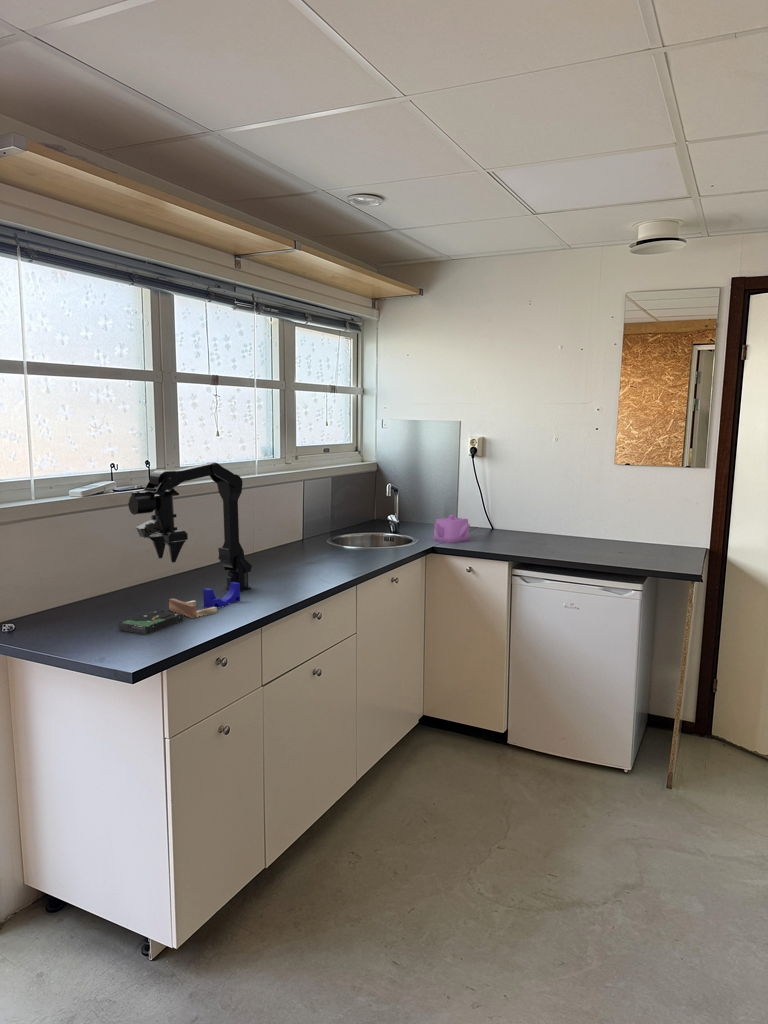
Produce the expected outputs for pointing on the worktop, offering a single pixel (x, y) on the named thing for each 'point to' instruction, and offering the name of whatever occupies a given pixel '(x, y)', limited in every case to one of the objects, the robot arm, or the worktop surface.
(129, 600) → the worktop surface
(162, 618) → the disk drive
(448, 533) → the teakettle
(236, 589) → the blue cradle bracket
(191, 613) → the frame
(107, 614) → the worktop surface
